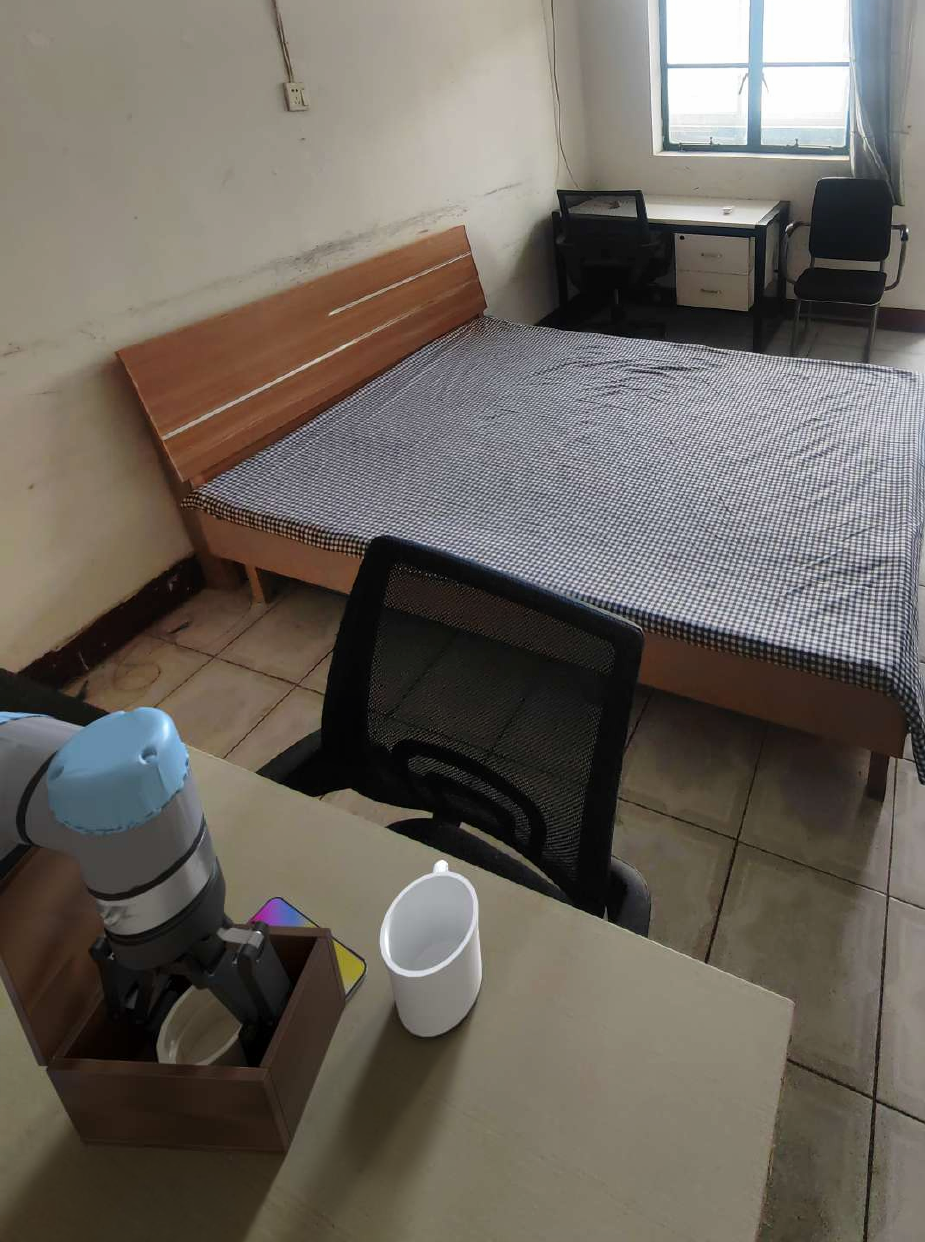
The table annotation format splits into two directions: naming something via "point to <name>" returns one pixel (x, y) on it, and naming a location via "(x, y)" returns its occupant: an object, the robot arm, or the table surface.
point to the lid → (48, 947)
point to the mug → (433, 952)
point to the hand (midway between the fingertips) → (221, 1055)
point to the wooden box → (205, 1068)
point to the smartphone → (288, 915)
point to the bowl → (200, 1032)
